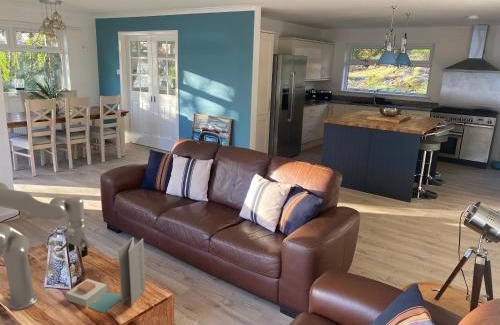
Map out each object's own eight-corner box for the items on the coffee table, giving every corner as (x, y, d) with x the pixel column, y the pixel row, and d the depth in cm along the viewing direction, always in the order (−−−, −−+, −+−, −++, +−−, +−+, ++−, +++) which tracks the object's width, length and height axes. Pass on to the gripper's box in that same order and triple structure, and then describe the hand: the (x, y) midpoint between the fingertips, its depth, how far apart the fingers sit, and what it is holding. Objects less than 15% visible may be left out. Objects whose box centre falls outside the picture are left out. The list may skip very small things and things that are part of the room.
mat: (88, 307, 183) (88, 307, 183) (108, 291, 195) (108, 291, 195) (104, 313, 179) (104, 312, 179) (124, 297, 192) (124, 296, 192)
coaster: (77, 290, 189) (77, 287, 189) (86, 284, 195) (86, 280, 194) (86, 293, 187) (86, 290, 187) (95, 287, 192) (95, 283, 192)
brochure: (132, 306, 185) (128, 251, 177) (121, 304, 186) (118, 250, 178) (145, 289, 198) (143, 238, 190) (135, 288, 199) (133, 236, 191)
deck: (66, 300, 188) (65, 293, 187) (88, 285, 200) (87, 278, 199) (86, 307, 183) (85, 299, 182) (107, 291, 196) (106, 284, 195)
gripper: (58, 220, 186) (60, 251, 191) (81, 229, 178) (83, 261, 183) (71, 215, 193) (73, 245, 197) (94, 224, 185) (96, 255, 189)
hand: (78, 253), depth 190 cm, fingers open, 9 cm apart
